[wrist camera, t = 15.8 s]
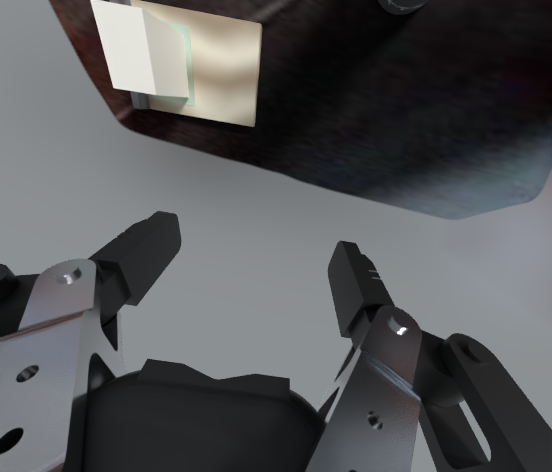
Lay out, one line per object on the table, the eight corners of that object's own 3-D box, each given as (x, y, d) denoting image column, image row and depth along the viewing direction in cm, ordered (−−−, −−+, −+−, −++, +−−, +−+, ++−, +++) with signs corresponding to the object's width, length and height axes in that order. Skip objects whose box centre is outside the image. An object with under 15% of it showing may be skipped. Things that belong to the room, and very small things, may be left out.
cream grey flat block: (129, 2, 26) (106, -13, 23) (262, 27, 27) (258, 16, 23) (149, 107, 33) (133, 107, 30) (254, 126, 33) (250, 128, 30)
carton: (183, 35, 27) (141, 7, 19) (189, 97, 30) (156, 95, 23) (145, 28, 26) (88, -2, 19) (155, 91, 30) (112, 87, 23)
